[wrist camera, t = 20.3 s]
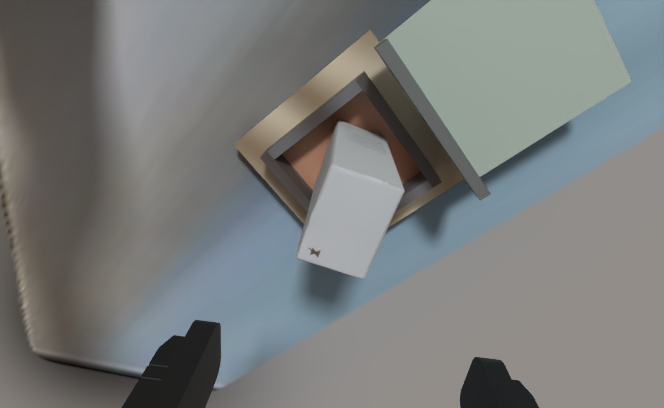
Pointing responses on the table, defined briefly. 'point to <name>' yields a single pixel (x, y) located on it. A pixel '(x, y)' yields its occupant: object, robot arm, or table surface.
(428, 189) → the socket board
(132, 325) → the table surface
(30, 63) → the table surface
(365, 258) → the skincare box
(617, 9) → the table surface
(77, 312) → the table surface
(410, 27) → the cover
